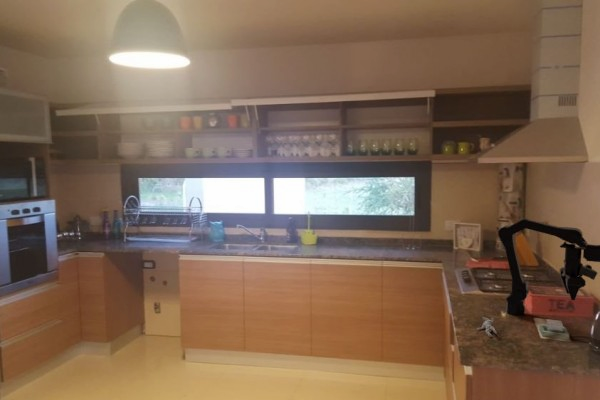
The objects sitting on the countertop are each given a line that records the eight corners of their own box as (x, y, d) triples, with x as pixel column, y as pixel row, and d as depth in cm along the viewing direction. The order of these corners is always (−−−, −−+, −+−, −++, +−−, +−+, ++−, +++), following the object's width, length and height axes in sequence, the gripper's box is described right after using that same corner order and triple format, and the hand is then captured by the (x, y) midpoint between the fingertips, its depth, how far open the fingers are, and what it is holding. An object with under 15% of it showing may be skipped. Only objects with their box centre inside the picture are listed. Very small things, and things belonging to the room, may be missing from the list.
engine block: (547, 335, 174) (547, 322, 174) (545, 331, 178) (546, 319, 178) (562, 337, 173) (562, 324, 172) (560, 333, 176) (560, 320, 176)
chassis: (540, 340, 172) (541, 332, 172) (533, 320, 193) (533, 313, 193) (571, 344, 169) (571, 336, 168) (560, 323, 190) (560, 316, 190)
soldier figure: (481, 339, 176) (471, 319, 187) (489, 346, 177) (478, 325, 188) (497, 327, 174) (486, 308, 185) (505, 334, 175) (494, 315, 186)
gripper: (602, 266, 173) (599, 306, 175) (590, 256, 191) (588, 292, 192) (568, 263, 177) (566, 302, 179) (560, 254, 195) (558, 289, 196)
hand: (570, 296), depth 186 cm, fingers open, 9 cm apart
